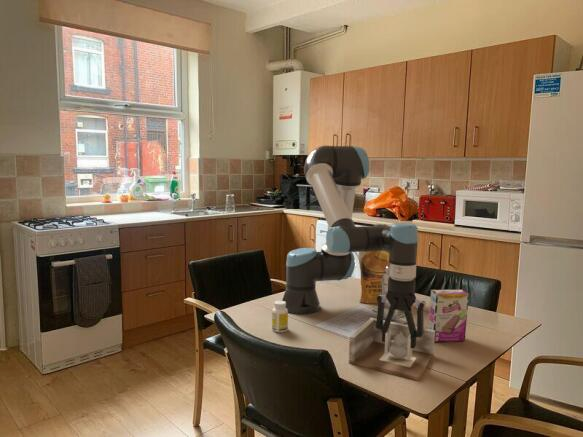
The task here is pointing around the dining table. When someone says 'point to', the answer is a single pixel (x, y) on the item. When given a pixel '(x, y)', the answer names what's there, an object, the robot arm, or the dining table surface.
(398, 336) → the white lumpy figure
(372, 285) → the pancake mix bag
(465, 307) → the candy bar box
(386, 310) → the plastic bottle
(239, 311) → the dining table surface
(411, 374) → the arena
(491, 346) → the dining table surface
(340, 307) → the dining table surface
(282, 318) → the supplement bottle
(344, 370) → the dining table surface
